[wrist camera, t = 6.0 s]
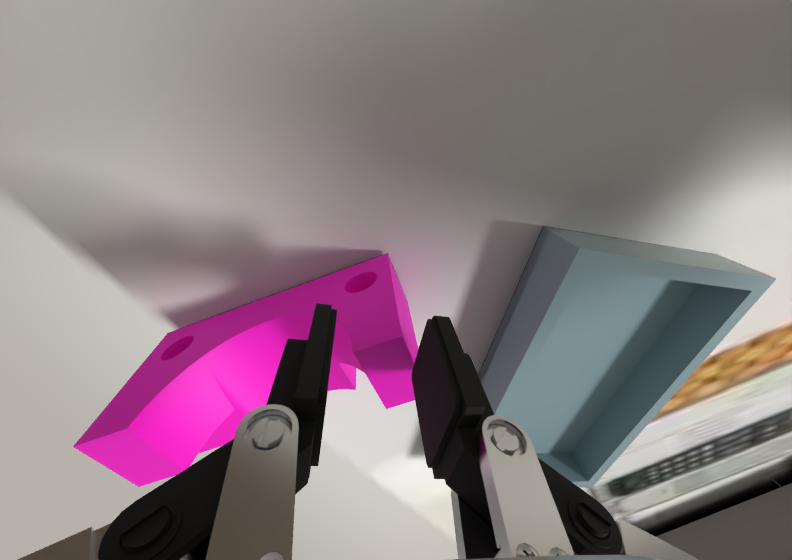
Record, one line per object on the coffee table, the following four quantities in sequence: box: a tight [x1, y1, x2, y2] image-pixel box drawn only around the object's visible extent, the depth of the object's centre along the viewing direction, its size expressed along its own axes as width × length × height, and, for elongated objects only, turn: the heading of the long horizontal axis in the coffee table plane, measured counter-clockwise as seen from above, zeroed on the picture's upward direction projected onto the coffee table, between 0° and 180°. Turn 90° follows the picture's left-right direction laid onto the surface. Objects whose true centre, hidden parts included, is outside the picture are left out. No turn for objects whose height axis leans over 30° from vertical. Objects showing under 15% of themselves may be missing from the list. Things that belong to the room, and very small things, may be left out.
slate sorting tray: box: [478, 226, 776, 487], centre depth 24 cm, size 14×23×4 cm, turn 169°
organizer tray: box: [656, 479, 792, 560], centre depth 45 cm, size 32×40×10 cm
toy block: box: [74, 253, 418, 487], centre depth 17 cm, size 15×6×8 cm, turn 109°
